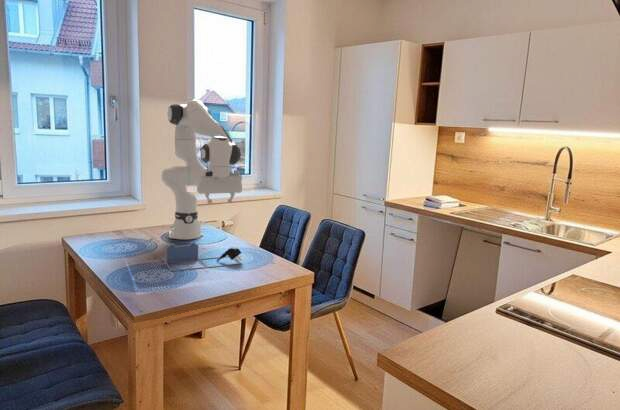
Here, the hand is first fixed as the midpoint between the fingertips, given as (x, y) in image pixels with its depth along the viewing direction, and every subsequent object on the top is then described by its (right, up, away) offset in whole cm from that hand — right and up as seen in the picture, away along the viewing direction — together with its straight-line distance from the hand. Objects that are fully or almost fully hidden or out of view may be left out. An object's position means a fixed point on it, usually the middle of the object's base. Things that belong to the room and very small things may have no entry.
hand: (219, 202), depth 202 cm
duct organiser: (-7, -28, 0) cm, 28 cm away
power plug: (0, -29, +4) cm, 30 cm away
